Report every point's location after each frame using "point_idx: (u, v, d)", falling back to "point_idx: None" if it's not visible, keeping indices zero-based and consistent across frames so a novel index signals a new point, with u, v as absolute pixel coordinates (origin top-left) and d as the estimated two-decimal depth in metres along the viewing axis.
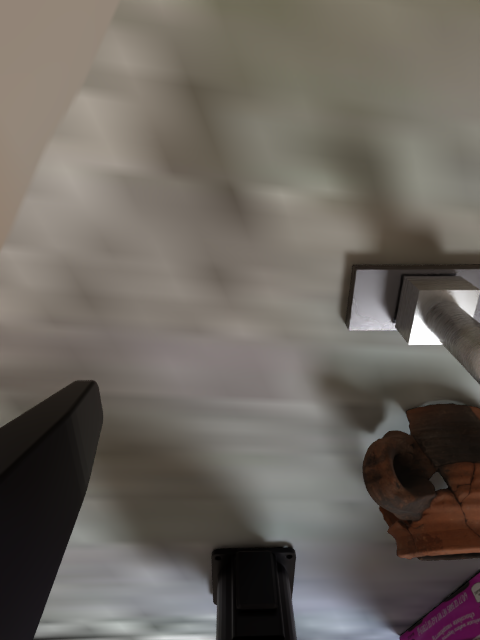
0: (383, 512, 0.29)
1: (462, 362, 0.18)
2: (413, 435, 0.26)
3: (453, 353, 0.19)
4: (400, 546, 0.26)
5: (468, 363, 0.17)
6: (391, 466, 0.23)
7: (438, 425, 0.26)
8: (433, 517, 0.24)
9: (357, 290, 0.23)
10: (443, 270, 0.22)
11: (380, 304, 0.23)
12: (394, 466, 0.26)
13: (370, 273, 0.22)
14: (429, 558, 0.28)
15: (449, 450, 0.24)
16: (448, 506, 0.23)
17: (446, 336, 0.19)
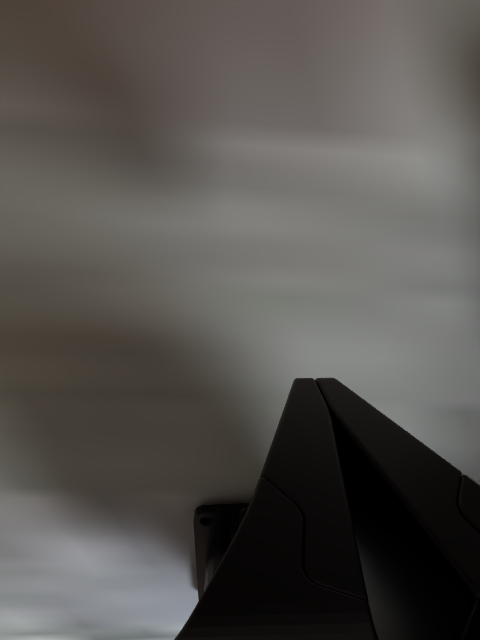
0: None
1: None
2: None
3: None
4: None
5: None
6: None
7: None
8: None
9: None
10: None
11: None
12: None
13: None
14: None
15: None
16: None
17: None
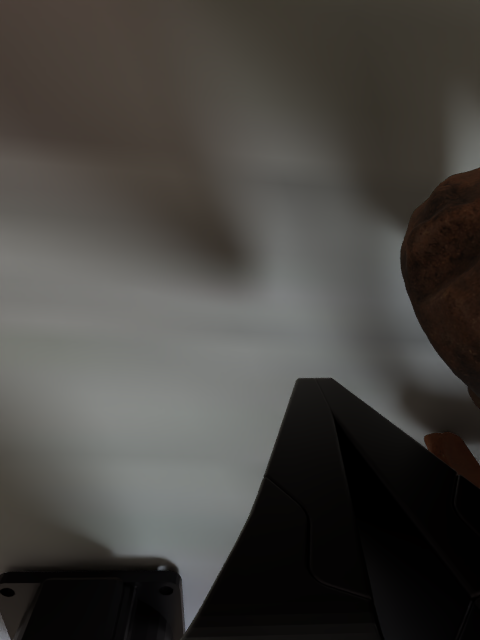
0: None
1: None
2: None
3: None
4: None
5: None
6: None
7: None
8: None
9: None
10: None
11: None
12: None
13: None
14: None
15: None
16: None
17: None
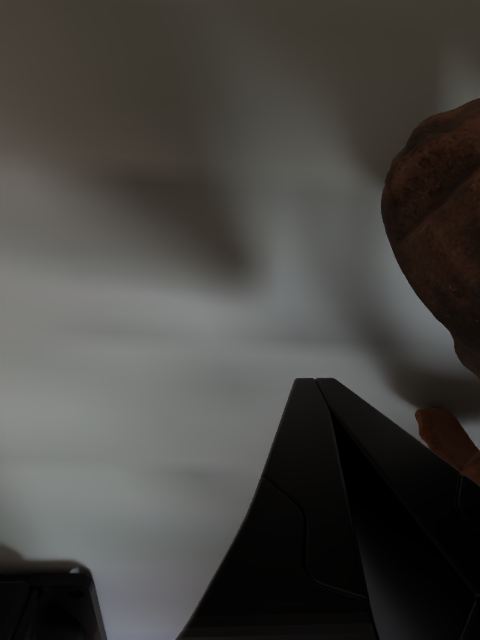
0: (431, 441, 0.11)
1: None
2: None
3: None
4: None
5: None
6: None
7: None
8: None
9: None
10: None
11: None
12: None
13: None
14: None
15: None
16: None
17: None
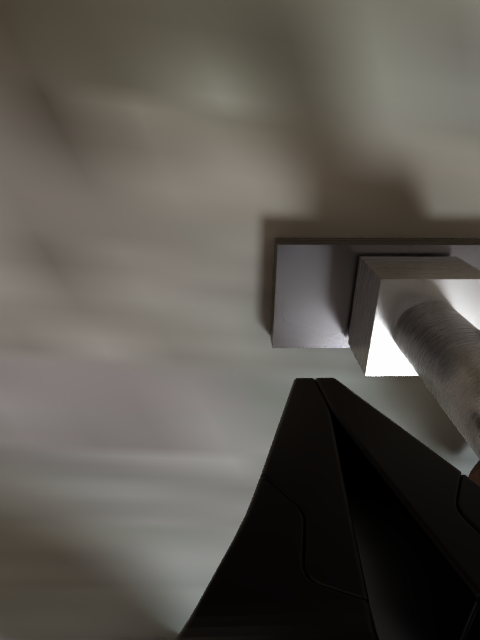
0: None
1: (459, 427, 0.09)
2: None
3: (441, 404, 0.09)
4: None
5: (473, 434, 0.08)
6: None
7: None
8: None
9: (281, 281, 0.13)
10: (428, 247, 0.13)
11: (322, 305, 0.14)
12: None
13: (301, 251, 0.13)
14: None
15: None
16: None
17: (428, 369, 0.10)
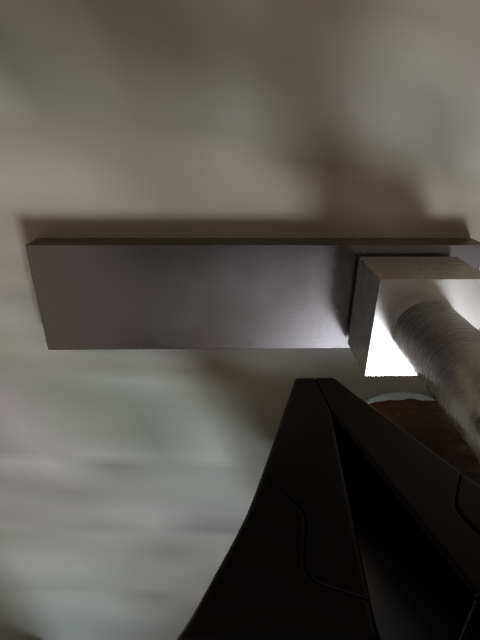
0: None
1: (458, 427, 0.09)
2: None
3: (440, 404, 0.09)
4: None
5: (472, 433, 0.08)
6: None
7: None
8: None
9: (39, 282, 0.13)
10: (180, 247, 0.13)
11: (88, 306, 0.14)
12: None
13: (52, 252, 0.13)
14: None
15: None
16: None
17: (428, 369, 0.10)
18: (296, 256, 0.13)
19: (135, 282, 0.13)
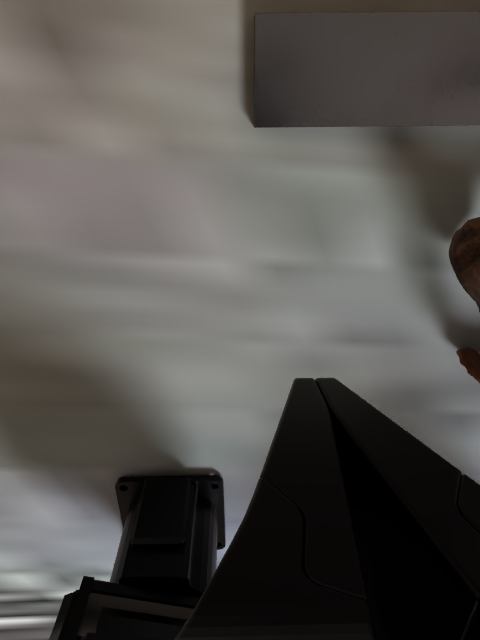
0: (466, 364, 0.21)
1: None
2: None
3: None
4: None
5: None
6: None
7: None
8: None
9: (260, 53, 0.15)
10: (388, 14, 0.15)
11: (297, 79, 0.16)
12: None
13: (276, 20, 0.15)
14: None
15: None
16: None
17: None
18: None
19: (342, 52, 0.15)
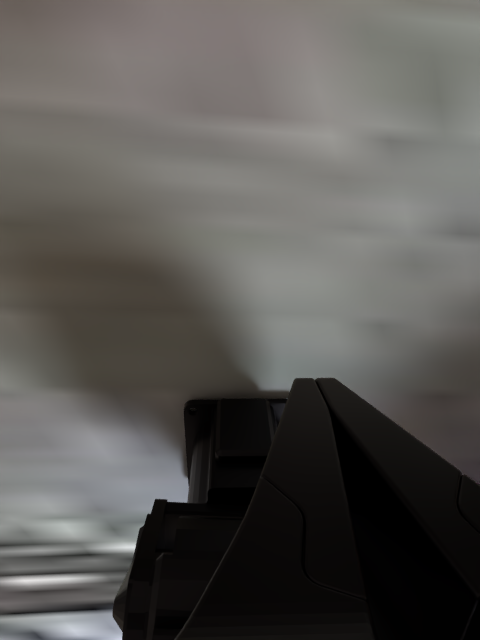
0: None
1: None
2: None
3: None
4: None
5: None
6: None
7: None
8: None
9: None
10: None
11: None
12: None
13: None
14: None
15: None
16: None
17: None
18: None
19: None
